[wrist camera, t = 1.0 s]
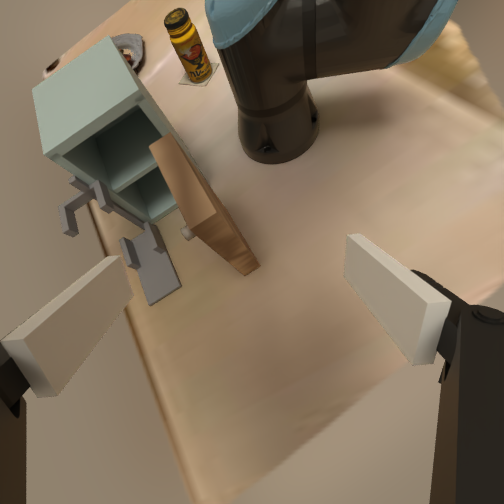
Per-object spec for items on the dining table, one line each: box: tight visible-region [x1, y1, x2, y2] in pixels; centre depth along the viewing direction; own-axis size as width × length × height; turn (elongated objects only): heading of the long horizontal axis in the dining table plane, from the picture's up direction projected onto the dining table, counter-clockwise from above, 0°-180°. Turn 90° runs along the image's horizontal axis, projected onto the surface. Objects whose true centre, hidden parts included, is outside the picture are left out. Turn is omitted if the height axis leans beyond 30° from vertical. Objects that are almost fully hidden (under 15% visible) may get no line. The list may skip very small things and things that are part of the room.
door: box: [149, 132, 260, 276], centre depth 33 cm, size 4×13×18 cm, turn 30°
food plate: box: [111, 34, 143, 70], centre depth 70 cm, size 25×23×4 cm
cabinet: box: [32, 35, 207, 306], centre depth 38 cm, size 20×31×20 cm, turn 29°
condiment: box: [164, 8, 219, 86], centre depth 54 cm, size 7×8×12 cm
